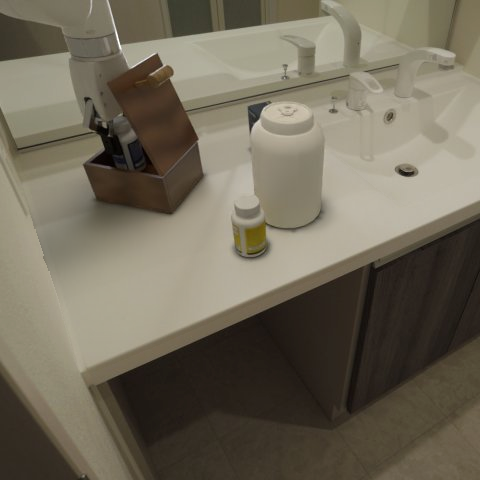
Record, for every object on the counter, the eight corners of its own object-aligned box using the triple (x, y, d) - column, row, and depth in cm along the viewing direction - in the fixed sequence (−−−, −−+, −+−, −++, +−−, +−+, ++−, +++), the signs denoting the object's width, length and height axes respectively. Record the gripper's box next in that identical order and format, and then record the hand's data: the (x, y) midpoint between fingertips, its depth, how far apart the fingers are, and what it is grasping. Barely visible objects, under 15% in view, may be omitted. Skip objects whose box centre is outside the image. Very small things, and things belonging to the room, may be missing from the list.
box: (250, 149, 95) (246, 105, 88) (272, 143, 98) (270, 100, 91) (265, 165, 91) (263, 120, 84) (288, 159, 93) (288, 114, 86)
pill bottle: (144, 158, 84) (131, 112, 77) (148, 171, 80) (135, 124, 74) (115, 163, 82) (99, 117, 75) (118, 177, 78) (102, 130, 72)
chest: (96, 199, 79) (82, 164, 74) (136, 163, 89) (126, 129, 84) (171, 214, 77) (162, 179, 72) (203, 175, 87) (197, 141, 82)
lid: (105, 82, 62) (134, 75, 60) (153, 53, 72) (179, 46, 70) (160, 177, 72) (185, 173, 70) (195, 139, 81) (219, 136, 80)
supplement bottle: (272, 241, 73) (269, 195, 66) (258, 261, 69) (255, 215, 62) (244, 233, 74) (239, 188, 67) (229, 253, 70) (222, 207, 64)
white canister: (258, 189, 84) (252, 92, 71) (320, 190, 85) (325, 95, 71) (251, 229, 75) (242, 127, 61) (321, 231, 75) (327, 130, 62)
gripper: (105, 26, 72) (132, 123, 85) (33, 58, 60) (77, 166, 72) (144, 31, 71) (166, 128, 84) (79, 65, 59) (115, 173, 71)
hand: (124, 145), depth 78 cm, fingers closed on pill bottle, 5 cm apart
